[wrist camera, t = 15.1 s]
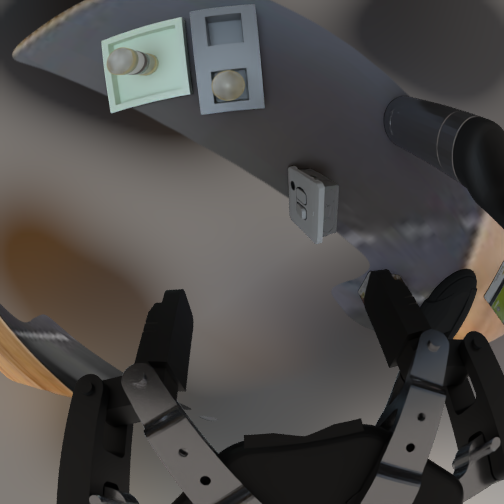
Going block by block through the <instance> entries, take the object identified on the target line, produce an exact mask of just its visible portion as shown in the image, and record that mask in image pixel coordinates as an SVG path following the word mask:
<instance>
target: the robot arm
mask: <svg viewBox="0 0 504 504" xmlns="http://www.w3.org/2000/svg"><path fill="white" fill-rule="evenodd" d="M384 126H385V130H386V133H387V135H388V137H389V138H390V140H391V141H392V142H393V143H394V144H396V145H397V146H399V147H401V148H403V149H405V150H407V151H408V152H410V153H412V154H414V155H415V156H417V157H419V158H421V159H422V160H424V161H426V162H427V163H429V164H431V165H432V166H434V167H436V168H437V169H439V170H440V171H442V172H443V173H445V174H447V175H448V176H450V177H451V178H453V179H454V180H456V181H457V182H459V183H460V184H462V185H463V186H464V187H466V188H467V189H468V191H469V192H470V194H471V196H472V198H473V199H474V200H475V202H476V203H477V204H478V205H479V206H480V207H481V208H483V209H484V210H485V211H486V212H487V213H488V214H489V215H490V216H491V217H492V218H493V219H494V220H495V221H496V222H497V223H498V224H499V225H500V226H501V227H502V228H503V229H504V131H503V129H502V128H501V127H500V126H499V125H498V124H496V123H495V122H493V121H491V120H489V119H486V118H483V117H480V116H477V115H475V114H472V113H469V112H466V111H462V110H459V109H456V108H452V107H449V106H445V105H442V104H438V103H434V102H430V101H426V100H422V99H417V98H413V97H407V96H401V97H398V98H396V99H394V100H393V101H392V102H391V103H390V104H389V105H388V107H387V109H386V112H385V116H384ZM364 306H365V310H366V312H367V314H368V317H369V319H370V321H371V324H372V326H373V328H374V331H375V333H376V335H377V338H378V340H379V343H380V345H381V348H382V350H383V353H384V355H385V358H386V361H387V363H388V366H389V368H391V367H395V366H398V367H399V370H400V371H399V372H398V375H397V377H396V381H395V383H394V386H393V389H392V392H391V394H390V397H389V399H388V402H387V404H386V407H385V409H384V411H383V413H382V414H381V416H380V418H379V420H378V421H377V423H376V425H375V426H373V425H367V424H362V421H361V419H357V420H352V421H348V422H343V423H338V424H334V425H332V426H330V427H327V428H325V429H323V430H320V431H318V432H315V433H313V434H310V435H308V436H293V435H284V434H275V433H271V434H258V435H244V441H242V442H238V443H236V444H233V445H231V446H230V447H227V448H226V449H224V450H223V451H222V452H220V453H218V452H217V451H216V450H215V449H214V448H213V446H212V445H211V444H210V443H209V442H208V440H207V439H206V438H205V437H204V436H203V435H202V433H201V432H200V431H199V430H198V428H197V427H196V426H195V425H194V423H193V422H192V421H191V419H190V418H189V417H188V415H187V414H186V413H185V411H184V410H183V409H182V407H181V406H180V404H179V403H178V402H177V392H178V391H186V383H187V375H188V366H189V357H190V349H191V341H192V333H193V315H192V312H191V309H190V306H189V303H188V300H187V297H186V294H185V291H184V290H183V289H181V290H180V289H179V290H166V291H165V293H164V298H163V301H162V303H155V304H154V306H153V307H152V308H151V310H150V311H149V312H148V316H147V319H146V324H145V326H144V332H143V333H142V337H141V341H140V344H139V348H138V352H137V356H136V360H135V363H134V364H133V365H131V366H129V367H128V368H127V369H126V370H125V371H124V373H123V375H122V376H119V377H115V378H111V379H107V380H101V379H100V378H99V377H98V376H96V375H94V374H88V375H85V376H83V377H81V378H80V379H79V380H78V381H77V383H76V385H75V388H74V392H73V396H72V400H71V404H70V409H69V413H68V418H67V423H66V428H65V433H64V440H63V445H62V452H61V459H60V467H59V477H58V490H57V504H139V502H138V501H137V499H136V498H135V497H134V496H132V495H131V494H129V480H130V479H129V478H130V459H131V458H130V457H131V444H132V432H133V423H137V422H142V424H143V426H144V428H145V430H144V433H145V436H146V438H147V440H148V441H149V443H150V444H151V446H152V448H153V449H154V451H155V452H156V454H157V455H158V457H159V458H160V460H161V461H162V463H163V464H164V466H165V467H166V469H167V470H168V471H169V473H170V474H171V476H172V477H173V478H174V480H175V481H176V482H177V484H178V485H179V486H180V488H181V489H182V490H183V492H182V494H181V495H180V496H179V497H178V498H177V499H176V500H175V501H174V502H173V503H172V504H463V502H464V501H466V500H468V499H470V498H471V497H473V496H475V495H476V494H478V493H479V492H481V491H483V490H484V489H486V488H487V487H489V486H490V485H491V484H494V483H496V482H499V481H501V480H504V375H503V373H502V370H501V368H500V366H499V363H498V361H497V359H496V357H495V355H494V353H493V351H492V349H491V347H490V345H489V343H488V341H487V339H486V338H485V337H484V336H483V335H482V334H481V333H479V332H476V331H471V332H469V333H467V335H466V336H465V337H464V339H463V340H457V339H447V338H446V336H445V335H444V334H443V333H442V332H440V331H438V330H434V329H432V328H431V326H430V325H429V323H428V321H427V319H426V317H425V316H424V314H423V312H422V310H421V309H420V307H419V305H418V304H417V303H416V300H415V299H414V297H412V294H411V292H410V290H409V289H408V287H407V286H406V285H405V284H404V283H402V282H401V281H400V280H399V279H397V280H395V279H394V278H393V276H392V274H391V273H390V271H389V270H387V269H385V270H377V271H372V272H371V273H370V275H369V280H368V284H367V288H366V292H365V296H364ZM468 376H469V377H470V379H471V382H472V384H473V387H474V390H475V392H476V399H475V397H474V394H473V391H472V388H471V386H470V383H469V381H468V378H467V377H468ZM444 404H446V407H447V410H448V414H449V417H450V420H451V424H452V428H453V431H454V435H455V439H456V443H457V447H458V452H457V454H456V456H455V459H454V461H453V463H452V467H453V469H454V473H453V474H451V473H449V472H448V471H446V470H445V469H443V468H442V467H440V466H438V465H437V464H435V463H434V462H432V461H431V460H429V459H428V457H429V454H430V451H431V448H432V445H433V442H434V439H435V436H436V433H437V430H438V426H439V423H440V419H441V415H442V411H443V407H444Z"/></svg>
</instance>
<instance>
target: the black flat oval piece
mask: <svg viewBox="0 0 504 504" xmlns="http://www.w3.org/2000/svg"><path fill="white" fill-rule="evenodd" d="M476 285H477V279H476V275H475V273H474V272H473V271H472V270H469V269H463V270H460V271H457V272H455V273H454V274H452V275H450V276H449V277H447V278H446V279H445V280H444V281H443V282H441V283H440V284H439V286H438V287H437V288H436V289H435V290H434V291H433V292H432V294H431V295H430V297H429V298H428V299H426V300H425V301H424V303H423V304H422V306H421V307H420V309H421V310H422V312H423V314H424V316H425V317H426V319H427V321H428V323H429V325H430V326H431V328H432V329H434V330H438V331H440V332H442V333H443V334H444V335H445V336H446V338H447V339H453V338H454V336H455V335H456V333H457V332H458V330H459V329H460V327H461V326H462V324H463V322H464V320H465V318H466V317H467V315H468V313H469V311H470V308H471V306H472V304H473V301H474V298H475V295H476V292H477V288H476Z"/></svg>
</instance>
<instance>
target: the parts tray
mask: <svg viewBox="0 0 504 504" xmlns="http://www.w3.org/2000/svg"><path fill="white" fill-rule="evenodd" d="M101 42H102V53H103V63H104V71H105V79H106V86H107V92H108V99H109V104H110V110H111V113H113V112H117V111H120V110H123V109H127V108H131V107H134V106H138V105H142V104H146V103H150V102H154V101H159V100H163V99H168V98H173V97H178V96H183V95H189V94H193V89H192V81H191V73H190V64H189V56H188V46H187V37H186V27H185V20H184V19H183V18H182V17H180V18H175V19H171V20H167V21H162V22H159V23H155V24H151V25H148V26H144V27H141V28H137V29H134V30H131V31H128V32H125V33H122V34H119V35H117V36H114V37H111V38H108V39H106V40H103V41H101ZM121 47H125V48H129V49H133V50H135V51H140V52H143V53H148V54H152V55H155V56H156V57H157V58H158V61H159V65H158V68H157V70H156V71H155V72H154V73H153V74H151V75H147V76H145V75H128V74H126V75H114V74H111V73H110V72H109V71H108V69H107V59H108V57H109V55H110V54H111V53H112V52H113V51H114V50H116V49H118V48H121Z"/></svg>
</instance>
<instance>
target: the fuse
mask: <svg viewBox="0 0 504 504" xmlns="http://www.w3.org/2000/svg"><path fill="white" fill-rule="evenodd" d="M244 88H245V82H244V79H243V77H242V76H241V75H240V74H239V73H237V72H235V71H231V70H226V71H222V72H220V73H218V74H217V75H216V76H215V77H214V79H213V81H212V91H213V93H214V95H215V96H216V97H218V98H219V99H221V100H225V101H230V100H234V99H236V98H238V97H239V96H240V95H241V94H242V93H243V91H244Z"/></svg>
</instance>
